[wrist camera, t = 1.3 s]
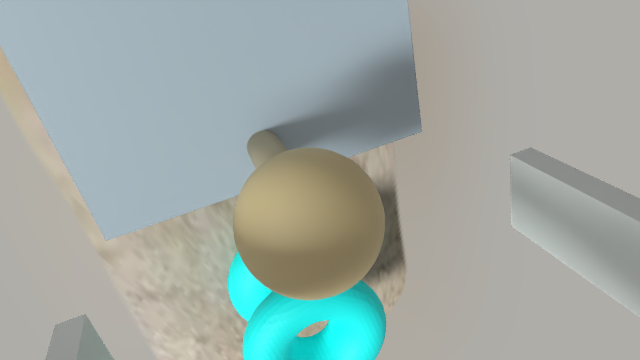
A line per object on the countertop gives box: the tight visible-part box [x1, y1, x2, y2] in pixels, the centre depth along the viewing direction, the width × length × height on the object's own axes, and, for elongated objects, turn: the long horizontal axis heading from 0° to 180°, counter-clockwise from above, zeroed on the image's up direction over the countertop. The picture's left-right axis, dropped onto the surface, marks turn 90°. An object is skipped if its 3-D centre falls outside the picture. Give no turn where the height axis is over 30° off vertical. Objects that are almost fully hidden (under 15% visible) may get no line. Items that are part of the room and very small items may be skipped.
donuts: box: [228, 252, 386, 360], centre depth 34 cm, size 10×10×10 cm
